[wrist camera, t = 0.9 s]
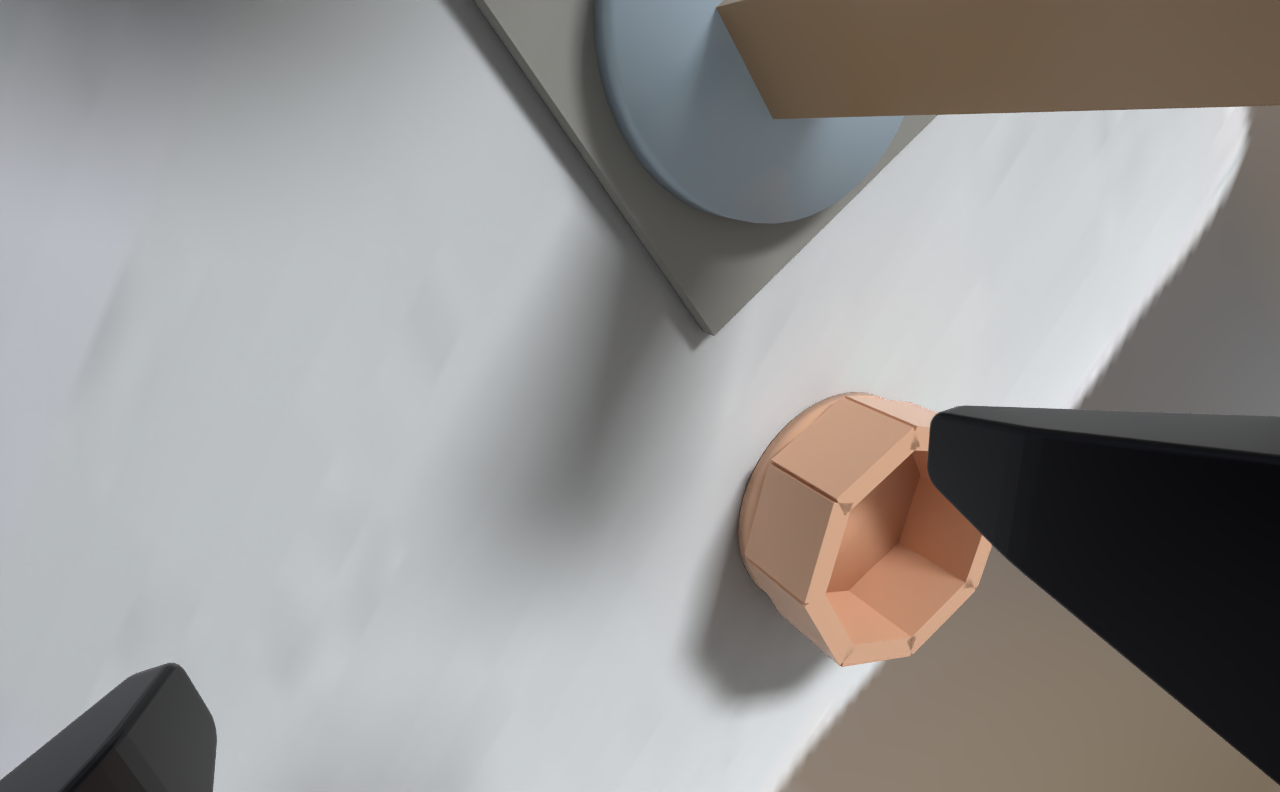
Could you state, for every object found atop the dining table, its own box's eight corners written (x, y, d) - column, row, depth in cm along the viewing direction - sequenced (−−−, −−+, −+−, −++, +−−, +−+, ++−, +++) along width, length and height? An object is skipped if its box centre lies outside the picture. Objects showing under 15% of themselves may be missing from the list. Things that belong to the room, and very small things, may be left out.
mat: (703, 331, 23) (714, 335, 22) (442, -45, 17) (449, -51, 16) (950, 87, 25) (965, 86, 24) (801, -337, 18) (817, -350, 18)
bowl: (790, 640, 29) (862, 704, 26) (701, 500, 25) (774, 556, 22) (935, 500, 31) (1020, 543, 28) (876, 345, 27) (969, 375, 23)
